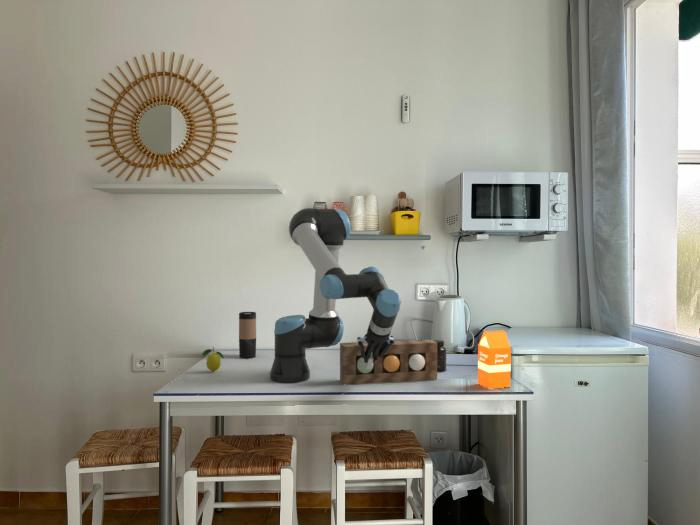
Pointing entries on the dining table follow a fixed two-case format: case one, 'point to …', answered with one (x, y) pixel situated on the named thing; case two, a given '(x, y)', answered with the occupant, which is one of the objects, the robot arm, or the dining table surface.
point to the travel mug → (247, 335)
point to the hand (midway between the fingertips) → (367, 365)
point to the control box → (379, 373)
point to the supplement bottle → (441, 356)
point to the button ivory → (416, 361)
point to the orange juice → (494, 360)
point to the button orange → (390, 362)
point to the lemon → (213, 359)
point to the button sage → (362, 365)
